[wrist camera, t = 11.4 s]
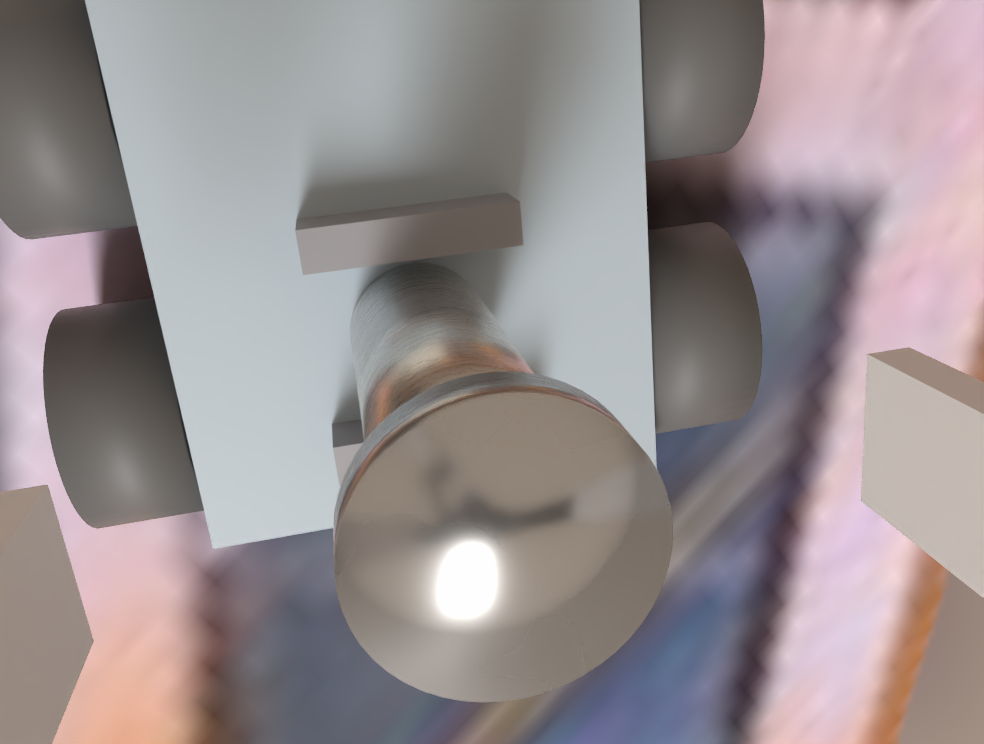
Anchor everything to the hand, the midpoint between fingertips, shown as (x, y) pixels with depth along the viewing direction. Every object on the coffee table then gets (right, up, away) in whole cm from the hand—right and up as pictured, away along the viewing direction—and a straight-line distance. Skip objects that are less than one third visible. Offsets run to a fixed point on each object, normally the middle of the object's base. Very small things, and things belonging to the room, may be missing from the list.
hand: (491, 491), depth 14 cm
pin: (-2, +3, +8) cm, 9 cm away
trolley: (-3, +7, +13) cm, 15 cm away
